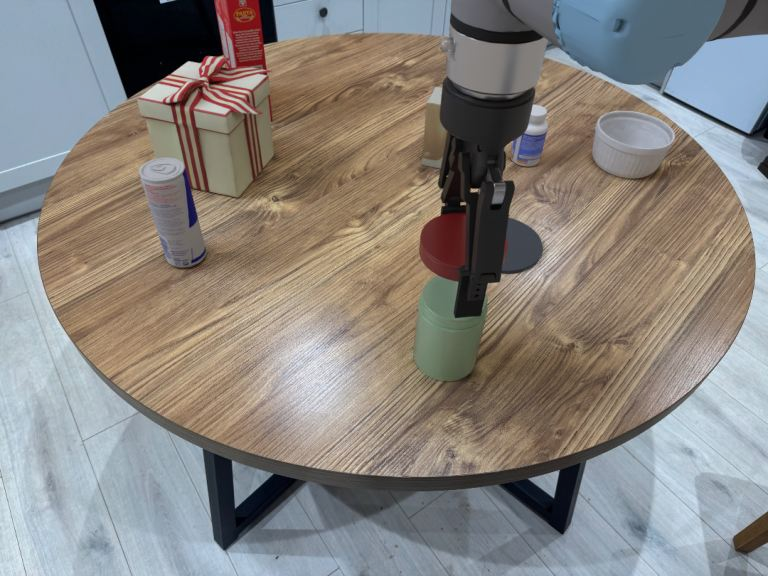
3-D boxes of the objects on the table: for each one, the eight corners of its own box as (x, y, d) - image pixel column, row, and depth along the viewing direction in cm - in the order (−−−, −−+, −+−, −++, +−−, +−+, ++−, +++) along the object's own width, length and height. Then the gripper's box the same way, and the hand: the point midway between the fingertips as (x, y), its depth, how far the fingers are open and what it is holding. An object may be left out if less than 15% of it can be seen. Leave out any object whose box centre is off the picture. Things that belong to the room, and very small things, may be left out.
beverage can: (212, 261, 82) (190, 172, 71) (173, 274, 79) (144, 185, 69) (200, 239, 85) (177, 151, 74) (162, 251, 83) (133, 162, 72)
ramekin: (665, 188, 98) (681, 153, 93) (587, 177, 100) (598, 142, 95) (656, 149, 108) (670, 115, 103) (585, 139, 109) (595, 106, 104)
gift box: (263, 203, 92) (248, 103, 80) (156, 187, 94) (126, 87, 82) (295, 149, 104) (286, 55, 92) (200, 136, 106) (180, 43, 94)
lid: (481, 220, 63) (484, 206, 61) (520, 272, 57) (524, 258, 55) (406, 235, 61) (408, 220, 59) (438, 290, 55) (440, 276, 53)
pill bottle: (545, 162, 103) (559, 112, 96) (524, 170, 101) (536, 120, 94) (524, 148, 106) (536, 99, 100) (503, 156, 104) (513, 107, 97)
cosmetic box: (429, 148, 106) (435, 84, 97) (452, 152, 105) (460, 89, 96) (420, 166, 101) (425, 101, 93) (443, 170, 100) (451, 105, 92)
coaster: (560, 254, 85) (561, 251, 85) (493, 285, 80) (494, 282, 79) (502, 209, 93) (503, 206, 92) (438, 234, 87) (439, 231, 87)
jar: (489, 364, 70) (504, 304, 62) (437, 391, 67) (447, 332, 59) (450, 323, 74) (460, 263, 67) (401, 347, 71) (405, 287, 64)
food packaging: (272, 121, 111) (256, -19, 94) (246, 125, 110) (223, -16, 92) (254, 89, 121) (236, -44, 103) (230, 92, 119) (207, -41, 102)
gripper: (421, 30, 53) (407, 223, 69) (476, 152, 38) (442, 363, 54) (499, 29, 54) (468, 219, 70) (584, 147, 39) (519, 357, 54)
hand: (457, 282), depth 62 cm, fingers closed on lid, 9 cm apart
